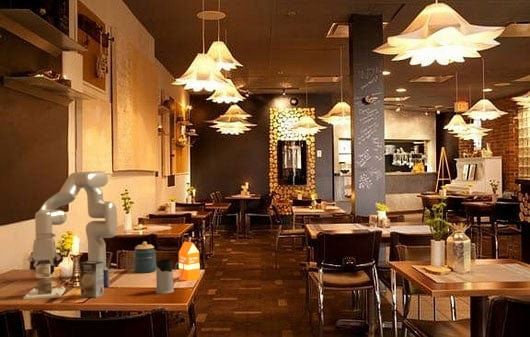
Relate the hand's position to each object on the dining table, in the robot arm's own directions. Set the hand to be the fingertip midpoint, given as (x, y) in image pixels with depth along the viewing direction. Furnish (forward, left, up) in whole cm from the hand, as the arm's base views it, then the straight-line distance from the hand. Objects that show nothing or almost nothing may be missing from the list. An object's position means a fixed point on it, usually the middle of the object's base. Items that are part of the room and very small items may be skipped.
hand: (44, 273), depth 258 cm
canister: (-46, -48, -10) cm, 67 cm away
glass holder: (-60, +9, -10) cm, 61 cm away
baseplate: (0, 0, -10) cm, 10 cm away
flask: (-25, -12, -10) cm, 30 cm away
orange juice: (-70, -17, -10) cm, 73 cm away
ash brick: (0, +1, -1) cm, 1 cm away
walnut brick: (0, 0, -9) cm, 9 cm away
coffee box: (-23, +9, -10) cm, 27 cm away
